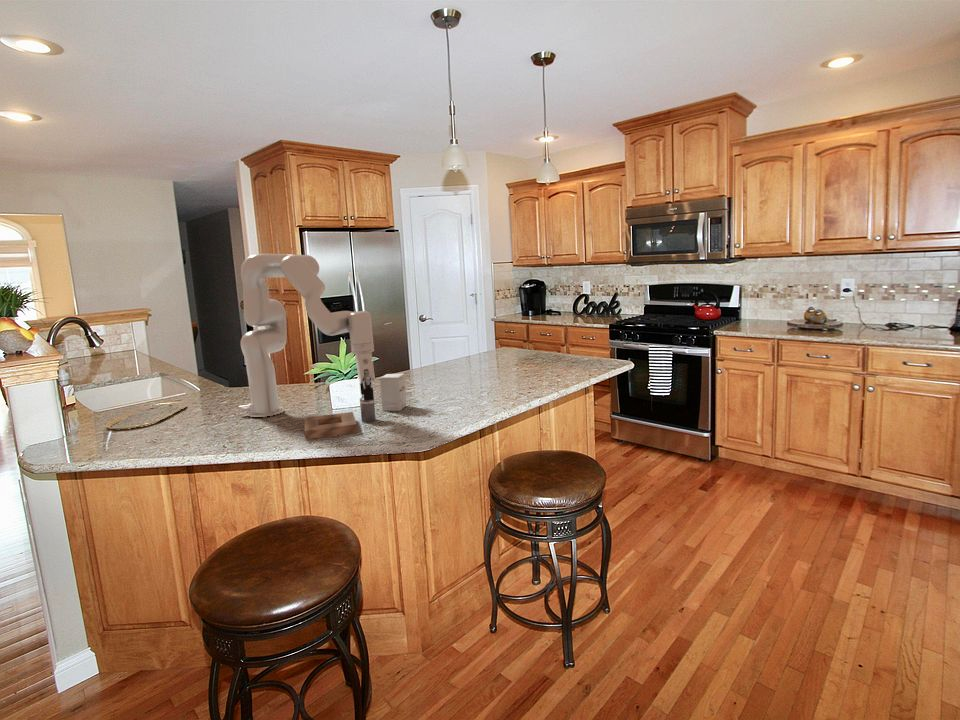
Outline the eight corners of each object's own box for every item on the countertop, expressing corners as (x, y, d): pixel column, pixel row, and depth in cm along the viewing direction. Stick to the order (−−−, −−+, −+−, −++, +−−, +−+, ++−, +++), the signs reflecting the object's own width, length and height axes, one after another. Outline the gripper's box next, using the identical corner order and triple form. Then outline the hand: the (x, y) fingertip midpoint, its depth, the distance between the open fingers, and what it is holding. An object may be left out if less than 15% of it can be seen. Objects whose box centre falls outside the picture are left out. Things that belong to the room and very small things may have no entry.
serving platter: (94, 433, 187) (93, 429, 187) (150, 407, 222) (149, 403, 221) (148, 430, 188) (148, 425, 188) (195, 404, 222) (195, 401, 222)
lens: (362, 423, 182) (360, 400, 181) (360, 419, 187) (358, 397, 185) (376, 421, 184) (374, 398, 182) (374, 417, 188) (373, 395, 187)
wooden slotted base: (305, 440, 167) (304, 430, 166) (305, 426, 182) (304, 417, 181) (357, 432, 171) (356, 423, 171) (353, 420, 186) (352, 411, 186)
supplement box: (400, 411, 195) (398, 377, 193) (381, 410, 197) (378, 377, 195) (407, 405, 202) (404, 373, 200) (388, 405, 204) (386, 373, 202)
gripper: (376, 350, 174) (381, 400, 176) (370, 343, 190) (375, 390, 193) (353, 352, 171) (358, 403, 174) (349, 345, 188) (354, 393, 191)
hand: (367, 396), depth 184 cm, fingers open, 9 cm apart
